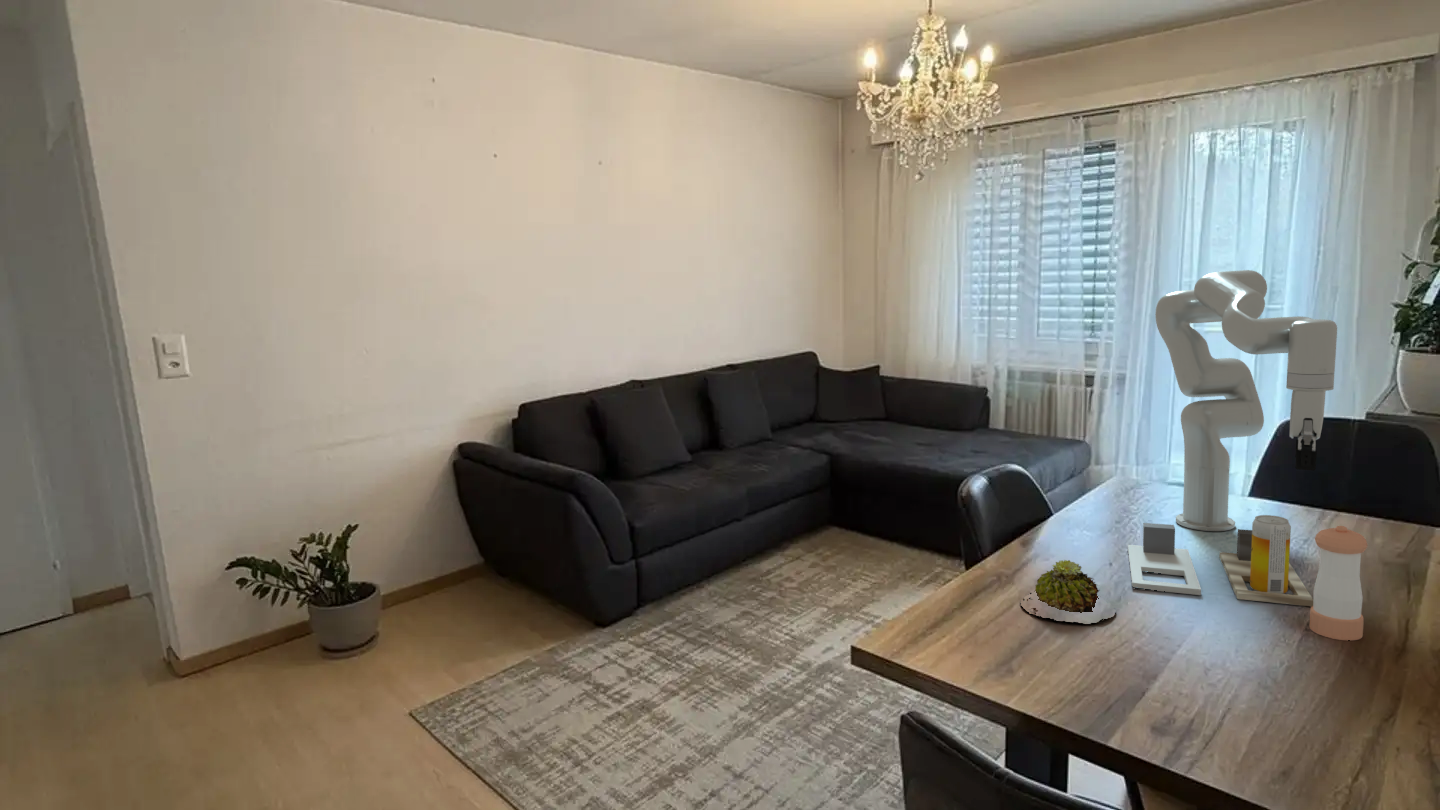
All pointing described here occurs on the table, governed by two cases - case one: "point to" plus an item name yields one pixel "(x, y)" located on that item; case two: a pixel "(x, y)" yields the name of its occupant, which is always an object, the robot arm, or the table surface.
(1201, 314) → the robot arm
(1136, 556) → the white board with cutout
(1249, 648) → the table surface
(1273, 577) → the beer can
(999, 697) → the table surface
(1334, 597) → the pepper shaker
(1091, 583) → the cactus
